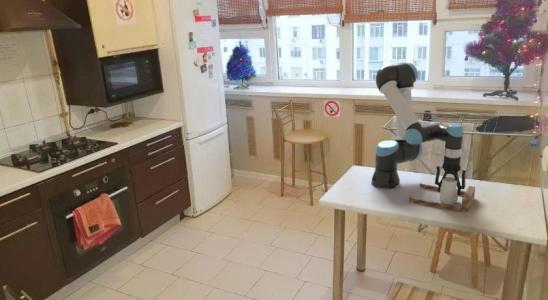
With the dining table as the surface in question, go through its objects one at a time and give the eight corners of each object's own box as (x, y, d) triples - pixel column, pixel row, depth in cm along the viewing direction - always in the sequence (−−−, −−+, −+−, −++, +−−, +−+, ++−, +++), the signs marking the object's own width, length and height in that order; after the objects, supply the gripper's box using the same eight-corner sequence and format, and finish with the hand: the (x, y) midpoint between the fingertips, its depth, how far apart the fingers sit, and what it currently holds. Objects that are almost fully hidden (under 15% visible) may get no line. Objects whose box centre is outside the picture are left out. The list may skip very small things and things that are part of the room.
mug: (454, 205, 205) (457, 182, 202) (440, 203, 208) (442, 180, 204) (455, 196, 214) (457, 175, 210) (441, 195, 217) (443, 173, 213)
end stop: (460, 210, 201) (461, 198, 199) (466, 196, 214) (467, 185, 212) (468, 211, 199) (469, 200, 197) (474, 197, 212) (475, 186, 210)
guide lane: (409, 201, 212) (409, 198, 211) (420, 186, 228) (420, 183, 227) (460, 211, 199) (460, 207, 198) (468, 195, 215) (468, 191, 214)
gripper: (429, 155, 206) (426, 198, 213) (473, 161, 195) (468, 206, 203) (433, 150, 212) (430, 192, 219) (475, 156, 201) (470, 200, 209)
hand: (448, 199), depth 211 cm, fingers closed on mug, 6 cm apart
